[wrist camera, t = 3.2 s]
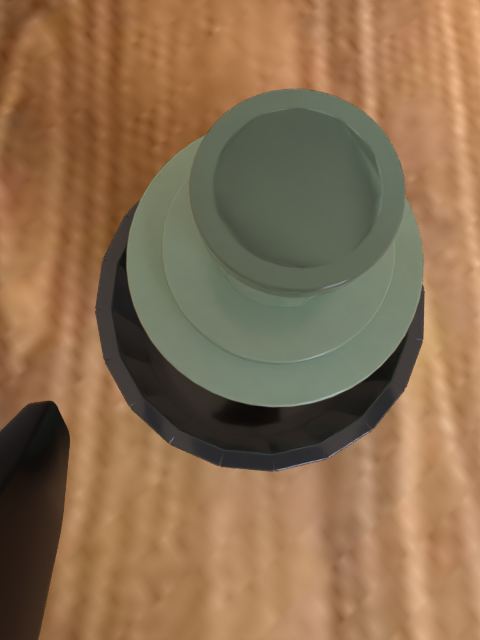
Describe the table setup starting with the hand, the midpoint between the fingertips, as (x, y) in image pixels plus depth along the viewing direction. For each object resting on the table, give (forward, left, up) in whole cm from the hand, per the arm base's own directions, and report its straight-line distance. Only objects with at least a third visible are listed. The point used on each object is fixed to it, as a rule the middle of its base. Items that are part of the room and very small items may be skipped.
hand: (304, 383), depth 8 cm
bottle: (+3, 0, -9) cm, 10 cm away
